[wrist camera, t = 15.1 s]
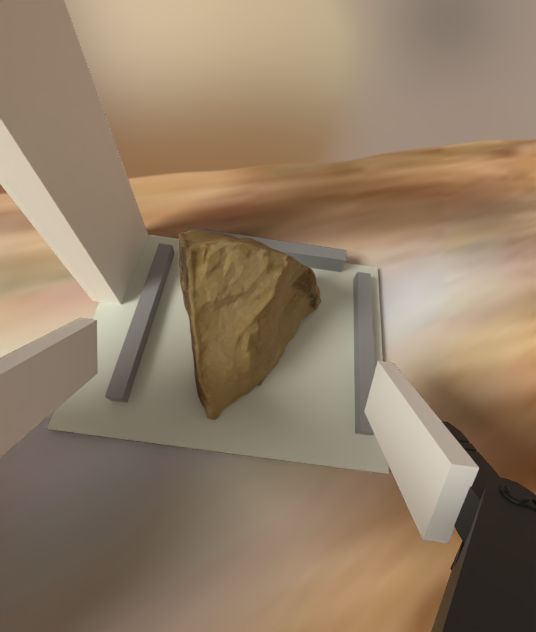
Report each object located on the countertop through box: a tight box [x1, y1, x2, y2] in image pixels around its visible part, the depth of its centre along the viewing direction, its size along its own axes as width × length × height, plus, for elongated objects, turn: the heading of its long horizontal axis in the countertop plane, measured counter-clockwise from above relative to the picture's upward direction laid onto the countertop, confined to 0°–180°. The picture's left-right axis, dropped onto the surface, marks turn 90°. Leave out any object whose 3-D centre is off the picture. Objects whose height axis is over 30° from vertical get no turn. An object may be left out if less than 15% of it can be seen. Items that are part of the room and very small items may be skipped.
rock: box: [179, 229, 321, 420], centre depth 19 cm, size 11×9×10 cm
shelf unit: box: [0, 0, 389, 474], centre depth 14 cm, size 21×15×20 cm
